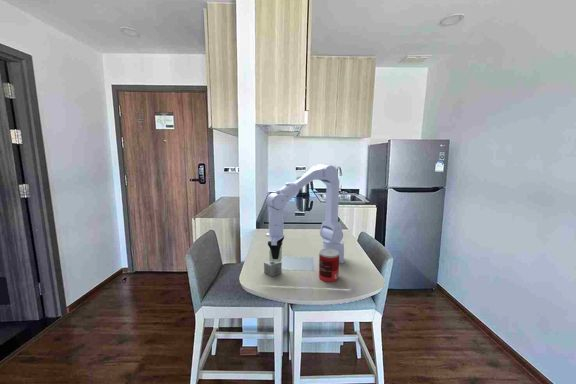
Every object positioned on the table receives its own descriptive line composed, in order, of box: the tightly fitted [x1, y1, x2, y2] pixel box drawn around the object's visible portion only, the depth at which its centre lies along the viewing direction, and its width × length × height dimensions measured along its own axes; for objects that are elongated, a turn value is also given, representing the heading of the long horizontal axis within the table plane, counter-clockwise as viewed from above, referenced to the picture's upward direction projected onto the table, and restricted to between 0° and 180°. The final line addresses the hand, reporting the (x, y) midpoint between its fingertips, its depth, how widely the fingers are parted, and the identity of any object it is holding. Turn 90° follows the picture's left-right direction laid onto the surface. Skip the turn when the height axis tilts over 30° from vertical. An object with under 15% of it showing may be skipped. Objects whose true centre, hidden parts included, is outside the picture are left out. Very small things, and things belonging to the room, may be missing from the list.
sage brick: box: [269, 246, 283, 262], centre depth 109 cm, size 4×4×4 cm
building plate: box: [281, 255, 314, 272], centre depth 119 cm, size 14×14×1 cm
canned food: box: [318, 248, 340, 283], centre depth 106 cm, size 8×8×11 cm
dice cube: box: [263, 259, 283, 277], centre depth 110 cm, size 5×5×5 cm
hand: (276, 256), depth 109 cm, fingers closed on sage brick, 4 cm apart
